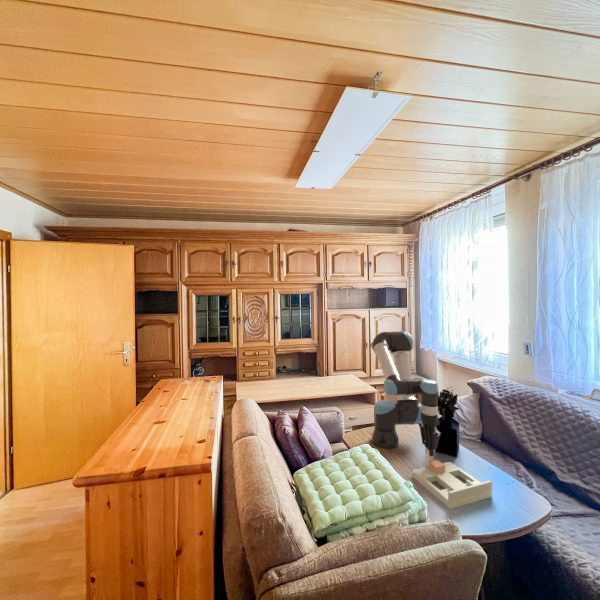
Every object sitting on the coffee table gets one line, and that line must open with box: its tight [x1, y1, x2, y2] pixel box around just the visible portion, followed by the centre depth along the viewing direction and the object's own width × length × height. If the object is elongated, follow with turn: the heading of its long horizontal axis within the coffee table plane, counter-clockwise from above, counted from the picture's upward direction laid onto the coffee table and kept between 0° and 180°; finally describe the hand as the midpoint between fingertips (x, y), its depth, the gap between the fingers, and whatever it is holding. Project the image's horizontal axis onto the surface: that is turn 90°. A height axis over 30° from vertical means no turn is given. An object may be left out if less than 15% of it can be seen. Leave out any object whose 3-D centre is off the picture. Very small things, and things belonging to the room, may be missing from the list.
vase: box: [434, 386, 460, 458], centre depth 168 cm, size 14×12×35 cm
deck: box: [411, 461, 493, 510], centre depth 138 cm, size 23×22×6 cm
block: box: [427, 459, 445, 474], centre depth 145 cm, size 5×5×3 cm
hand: (429, 461), depth 150 cm, fingers closed
